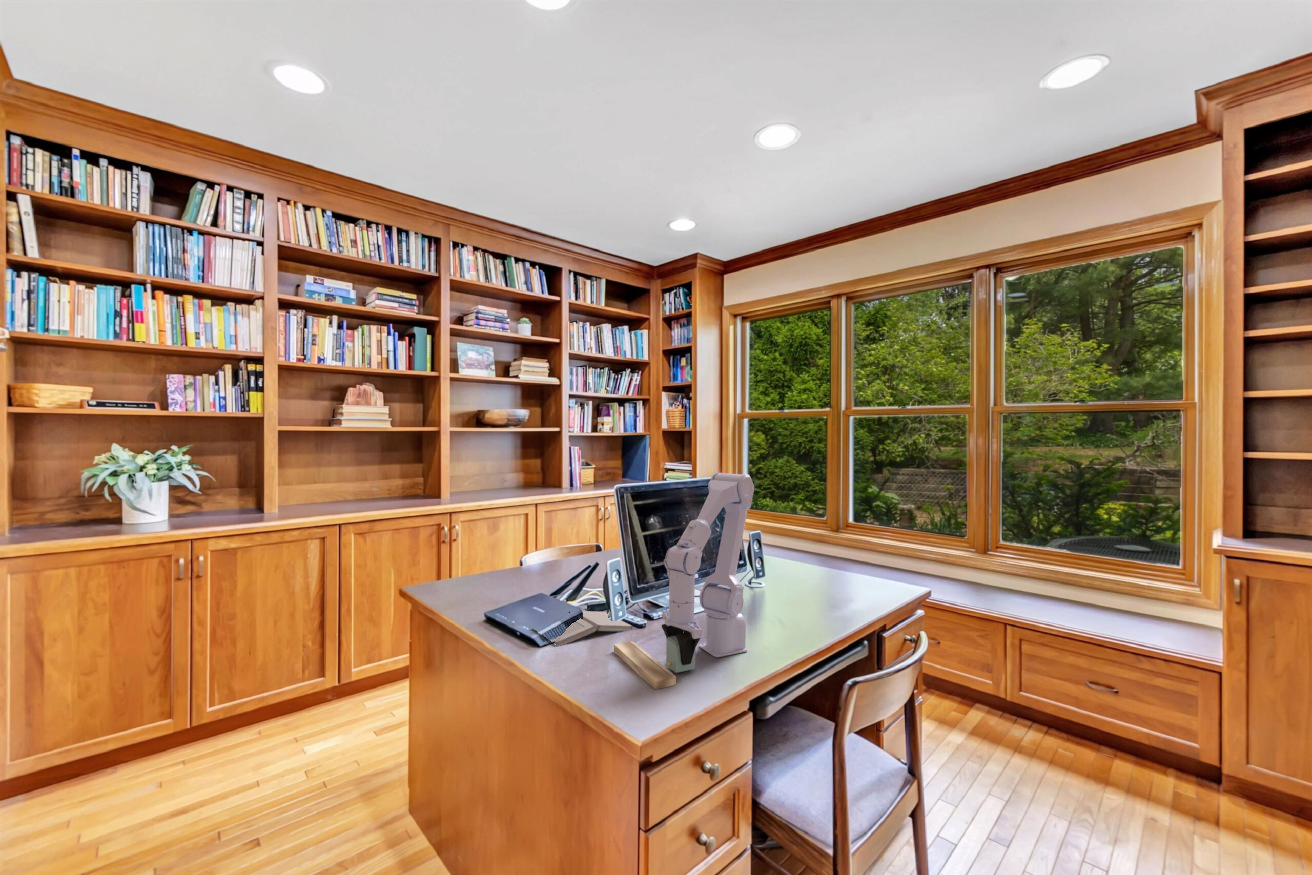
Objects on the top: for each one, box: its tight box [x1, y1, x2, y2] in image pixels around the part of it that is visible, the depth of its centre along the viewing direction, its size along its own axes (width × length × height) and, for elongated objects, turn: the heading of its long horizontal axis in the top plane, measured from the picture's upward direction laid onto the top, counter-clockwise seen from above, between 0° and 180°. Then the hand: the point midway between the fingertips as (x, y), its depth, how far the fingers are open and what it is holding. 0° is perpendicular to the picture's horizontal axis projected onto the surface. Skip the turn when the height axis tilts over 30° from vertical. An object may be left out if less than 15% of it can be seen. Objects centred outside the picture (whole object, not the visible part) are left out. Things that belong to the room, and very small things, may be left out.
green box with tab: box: [665, 636, 696, 673], centre depth 125 cm, size 6×4×6 cm
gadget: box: [554, 610, 633, 647], centre depth 150 cm, size 23×15×4 cm, turn 126°
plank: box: [613, 640, 677, 690], centre depth 126 cm, size 5×22×2 cm, turn 27°
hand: (680, 659), depth 125 cm, fingers closed on green box with tab, 4 cm apart
